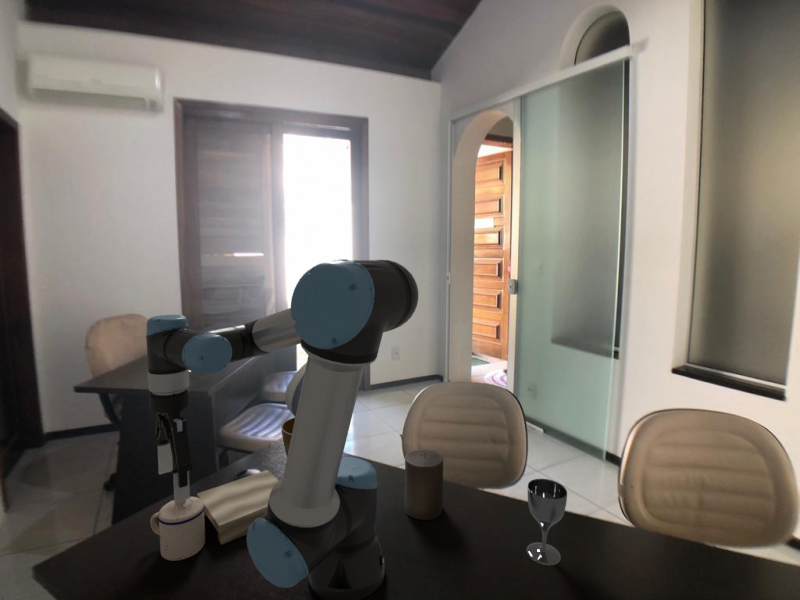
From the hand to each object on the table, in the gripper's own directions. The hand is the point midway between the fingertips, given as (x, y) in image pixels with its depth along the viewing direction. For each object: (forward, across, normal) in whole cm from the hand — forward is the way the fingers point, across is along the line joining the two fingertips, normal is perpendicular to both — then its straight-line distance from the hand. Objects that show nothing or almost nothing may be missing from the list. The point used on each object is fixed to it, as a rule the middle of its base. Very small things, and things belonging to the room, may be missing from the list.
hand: (173, 485), depth 92 cm
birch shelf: (+14, +2, -16) cm, 21 cm away
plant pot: (+14, +6, -36) cm, 39 cm away
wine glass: (+13, -53, -60) cm, 81 cm away
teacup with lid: (+14, 0, 0) cm, 14 cm away
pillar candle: (+14, -24, -51) cm, 58 cm away
